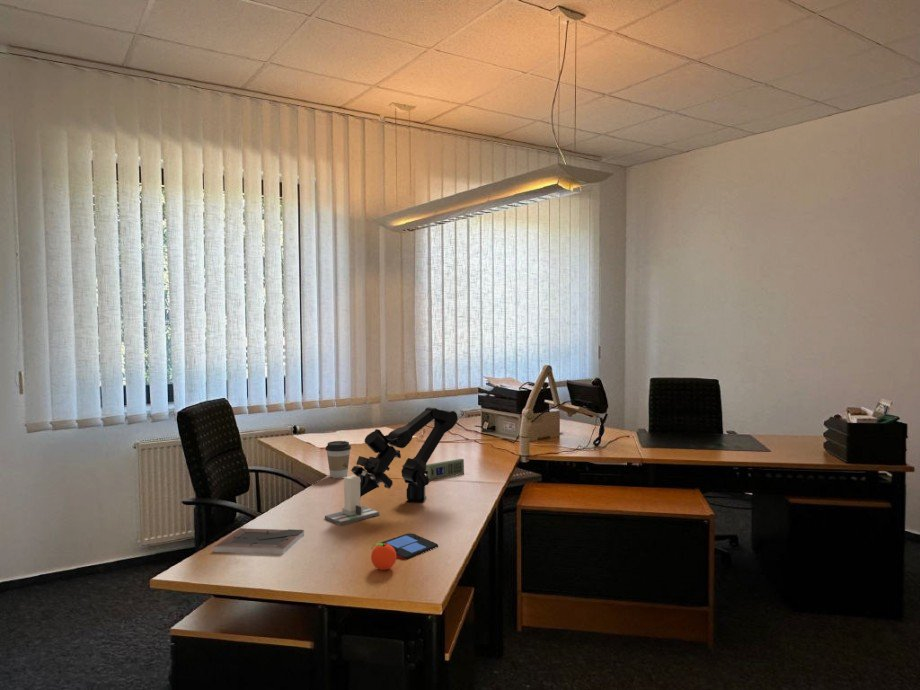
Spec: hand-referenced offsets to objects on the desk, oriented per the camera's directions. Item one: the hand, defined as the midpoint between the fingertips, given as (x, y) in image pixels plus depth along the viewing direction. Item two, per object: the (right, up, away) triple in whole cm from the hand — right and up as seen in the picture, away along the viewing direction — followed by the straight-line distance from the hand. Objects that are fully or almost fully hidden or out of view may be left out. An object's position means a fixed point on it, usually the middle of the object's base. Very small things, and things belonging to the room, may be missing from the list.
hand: (357, 496), depth 219 cm
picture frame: (-26, -9, -27) cm, 38 cm away
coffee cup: (-18, -5, +56) cm, 59 cm away
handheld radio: (+27, -5, +54) cm, 60 cm away
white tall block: (-1, -5, -2) cm, 6 cm away
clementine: (+15, -9, -47) cm, 50 cm away
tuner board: (-2, -7, -1) cm, 7 cm away
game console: (+20, -8, -32) cm, 39 cm away
